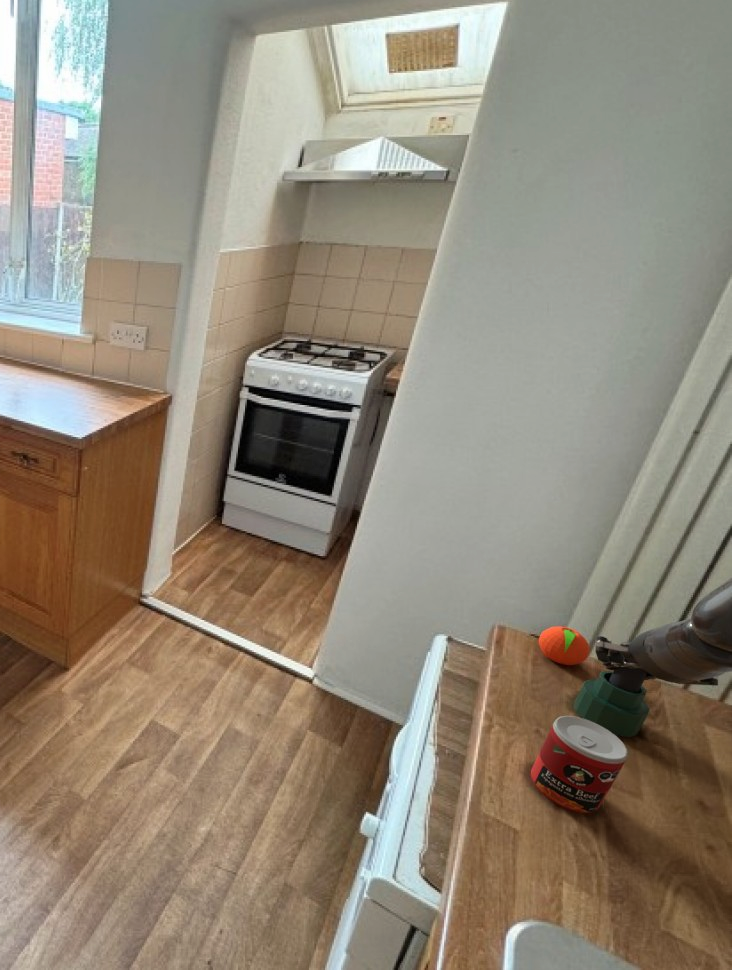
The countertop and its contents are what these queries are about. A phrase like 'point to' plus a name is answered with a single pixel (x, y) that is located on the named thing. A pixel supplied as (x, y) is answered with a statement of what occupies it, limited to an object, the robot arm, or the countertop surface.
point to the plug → (628, 679)
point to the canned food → (578, 764)
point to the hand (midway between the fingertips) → (625, 668)
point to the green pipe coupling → (612, 706)
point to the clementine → (564, 645)
